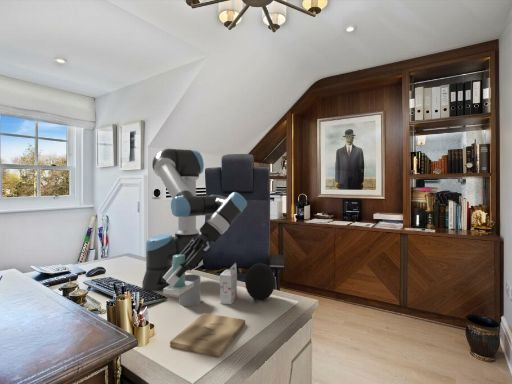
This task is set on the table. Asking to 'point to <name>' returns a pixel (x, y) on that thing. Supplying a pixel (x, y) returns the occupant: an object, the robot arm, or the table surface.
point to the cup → (191, 292)
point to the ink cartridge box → (228, 285)
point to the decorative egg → (260, 281)
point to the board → (208, 334)
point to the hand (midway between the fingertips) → (167, 281)
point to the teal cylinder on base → (181, 284)
